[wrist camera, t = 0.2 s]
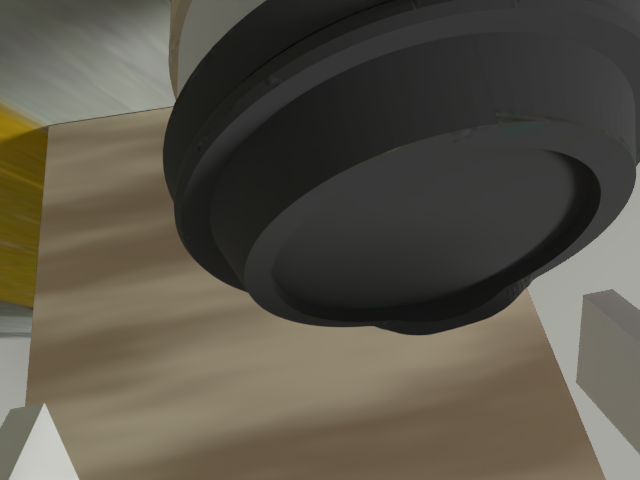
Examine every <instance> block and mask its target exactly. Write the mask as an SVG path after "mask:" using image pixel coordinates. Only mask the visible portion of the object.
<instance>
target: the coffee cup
mask: <svg viewBox="0 0 640 480" xmlns="http://www.w3.org/2000/svg"><path fill="white" fill-rule="evenodd" d="M169 70H170V78H171V84H172V89H173V92H174V95H175V99H176V102H175V104H174V107H173V110H172V112H171V115H170V118H169V120H168V124H167V128H166V132H165V137H164V145H163V170H164V175H165V181H166V184H167V187H168V190H169V193H170V196H171V198H172V200H173V202H174V216H175V224H176V228H177V232H178V234H179V237H180V239H181V242H182V243H183V245H184V247H185V249H186V250H187V252H188V253H189V254H190V255H191V257H192V258H193V259H194V260H195V261H196V262H197V263H198V264H199V265H200V266H201V267H202V268H204V269H205V270H206V271H207V272H208V273H210V274H211V275H212V276H214V277H215V278H217V279H218V280H220V281H222V282H224V283H226V284H228V285H230V286H232V287H234V288H236V289H239V290H242V291H245V292H247V293H249V295H250V296H251V298H252V299H253V300H254V301H255V302H256V303H257V304H258V305H259V306H260V307H262V308H263V309H264V310H266V311H268V312H269V313H271V314H273V315H275V316H277V317H280V318H283V319H286V320H289V321H292V322H297V323H301V324H307V325H313V326H323V327H365V326H375V327H377V328H380V329H384V330H388V331H392V332H396V333H399V334H404V335H432V334H436V333H440V332H444V331H448V330H452V329H456V328H459V327H463V326H466V325H469V324H473V323H476V322H479V321H482V320H485V319H488V318H490V317H492V316H494V315H496V314H497V313H499V312H501V311H502V310H504V309H505V308H507V307H508V306H509V305H510V304H511V303H512V302H514V301H515V300H516V298H517V297H518V296H519V295H520V294H521V293H522V292H523V291H524V290H525V289H526V288H527V287H528V286H529V285H530V283H531V282H532V280H534V279H535V278H537V277H538V276H540V275H542V274H544V273H545V272H547V271H549V270H551V269H553V268H554V267H556V266H558V265H559V264H561V263H562V262H564V261H566V260H567V259H569V258H570V257H571V256H573V255H575V254H576V253H578V252H579V251H580V250H582V249H583V248H584V247H585V246H587V245H588V244H589V243H591V242H592V241H593V240H594V239H596V238H597V237H598V236H599V235H600V234H601V233H602V232H603V231H604V230H605V229H606V228H607V227H608V226H609V225H610V224H611V223H612V222H613V221H614V220H615V219H616V218H617V216H618V215H619V214H620V212H621V211H622V209H623V208H624V207H625V205H626V204H627V202H628V200H629V198H630V196H631V193H632V191H633V188H634V185H635V180H636V166H637V164H638V163H639V162H640V0H171V19H170V39H169Z"/></svg>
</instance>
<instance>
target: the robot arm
mask: <svg viewBox="0 0 640 480" xmlns="http://www.w3.org/2000/svg"><path fill="white" fill-rule="evenodd" d="M576 383H577V384H578V385H579V386H580V387H581V388H582V390H583V391H584V392H585V393H586V394H587V395H588V396H589V398H590V399H591V400H592V401H593V402H594V403H595V404H596V405H597V407H598V408H599V409H600V410H601V411H602V412H603V413H604V414H605V416H606V417H607V418H608V419H609V420H610V421H611V422H612V424H613V425H614V426H615V427H616V428H617V429H618V430H619V431H620V433H621V434H622V435H623V436H624V437H625V438H626V439H627V441H628V442H629V443H630V444H631V445H632V446H633V447H634V448H635V450H636V451H637V452H638V453H639V454H640V310H638V309H637V308H636V307H634V306H633V305H632V304H631V303H629V302H628V301H627V300H626V299H624V298H623V297H622V296H620V295H619V294H618V293H617V292H615V291H614V290H612V289H611V290H606V291H601V292H596V293H591V294H587V295H584V296H583V306H582V319H581V331H580V343H579V356H578V368H577V380H576ZM0 480H79V478H78V476H77V474H76V471H75V469H74V467H73V465H72V463H71V460H70V458H69V456H68V454H67V451H66V449H65V447H64V445H63V443H62V440H61V438H60V436H59V434H58V431H57V429H56V427H55V425H54V423H53V420H52V418H51V416H50V414H49V411H48V409H47V407H46V405H45V403H40V404H35V405H30V406H25V407H20V408H15V409H11V410H10V411H9V413H8V415H7V417H6V419H5V421H4V422H3V425H2V426H1V428H0Z"/></svg>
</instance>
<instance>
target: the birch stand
mask: <svg viewBox="0 0 640 480" xmlns="http://www.w3.org/2000/svg"><path fill="white" fill-rule="evenodd" d="M172 110H173V107H171V108H164V109H157V110H151V111H144V112H137V113H131V114H124V115H118V116H111V117H104V118H98V119H91V120H84V121H78V122H71V123H64V124H58V125H51V126H49V132H48V143H47V155H46V167H45V179H44V191H43V202H42V214H41V226H40V238H39V249H38V261H37V273H36V285H35V297H34V308H33V320H32V332H31V344H30V355H29V367H28V380H27V391H26V403H25V406H30V405H35V404H40V403H45V405H46V407H47V409H48V411H49V414H50V416H51V418H52V420H53V423H54V425H55V427H56V429H57V431H58V434H59V436H60V438H61V440H62V443H63V445H64V447H65V449H66V451H67V454H68V456H69V458H70V460H71V463H72V465H73V467H74V469H75V471H76V474H77V476H78V478H79V480H606V479H605V477H604V474H603V472H602V469H601V467H600V464H599V462H598V459H597V457H596V455H595V452H594V450H593V447H592V445H591V442H590V441H589V438H588V435H587V433H586V430H585V428H584V425H583V423H582V421H581V419H580V416H579V413H578V411H577V409H576V406H575V404H574V401H573V399H572V397H571V394H570V392H569V389H568V387H567V384H566V382H565V380H564V377H563V375H562V372H561V370H560V368H559V365H558V363H557V360H556V358H555V355H554V353H553V350H552V348H551V345H550V343H549V341H548V338H547V336H546V333H545V331H544V329H543V326H542V324H541V321H540V319H539V317H538V314H537V312H536V309H535V307H534V304H533V302H532V300H531V297H530V295H529V292H528V290H527V288H526V289H525V290H524V291H523V292H522V293H521V294H520V295H519V296H518V297H517V298H516V300H515V301H514V302H512V303H511V304H510V305H509V306H508V307H507V308H505V309H504V310H502V311H501V312H499V313H497V314H496V315H494V316H492V317H490V318H488V319H485V320H482V321H479V322H476V323H473V324H469V325H466V326H463V327H459V328H456V329H452V330H448V331H444V332H440V333H436V334H432V335H404V334H399V333H396V332H392V331H388V330H384V329H380V328H377V327H375V326H365V327H323V326H313V325H307V324H301V323H297V322H292V321H289V320H286V319H283V318H280V317H277V316H275V315H273V314H271V313H269V312H268V311H266V310H264V309H263V308H262V307H260V306H259V305H258V304H257V303H256V302H255V301H254V300H253V299H252V298H251V296H250V295H249V293H247V292H245V291H242V290H239V289H236V288H234V287H232V286H230V285H228V284H226V283H224V282H222V281H220V280H218V279H217V278H215V277H214V276H212V275H211V274H210V273H208V272H207V271H206V270H205V269H204V268H202V267H201V266H200V265H199V264H198V263H197V262H196V261H195V260H194V259H193V258H192V257H191V255H190V254H189V253H188V252H187V250H186V249H185V247H184V245H183V243H182V242H181V239H180V237H179V234H178V232H177V228H176V224H175V216H174V202H173V200H172V198H171V196H170V193H169V190H168V187H167V184H166V181H165V175H164V170H163V145H164V137H165V132H166V128H167V124H168V120H169V118H170V115H171V112H172Z"/></svg>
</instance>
